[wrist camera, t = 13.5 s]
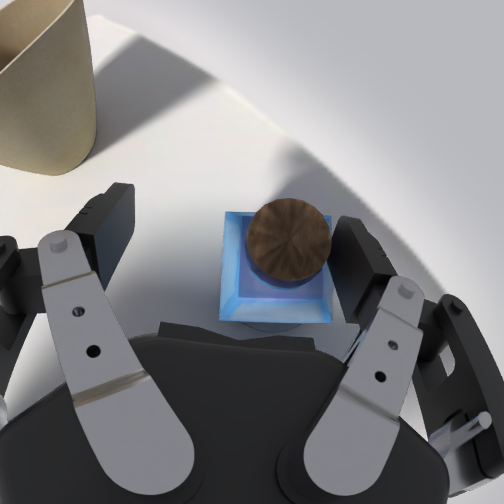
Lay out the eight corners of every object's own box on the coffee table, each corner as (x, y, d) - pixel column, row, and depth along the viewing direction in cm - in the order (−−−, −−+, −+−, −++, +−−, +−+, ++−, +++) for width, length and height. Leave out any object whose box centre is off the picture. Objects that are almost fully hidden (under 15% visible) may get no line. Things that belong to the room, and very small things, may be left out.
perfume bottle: (232, 239, 23) (212, 161, 12) (312, 242, 23) (362, 170, 12) (228, 320, 22) (200, 320, 10) (311, 322, 22) (370, 323, 10)
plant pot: (71, 80, 27) (25, -15, 11) (159, 114, 26) (125, -24, 11) (-6, 178, 23) (-90, 108, 8) (66, 241, 23) (-61, 159, 7)
